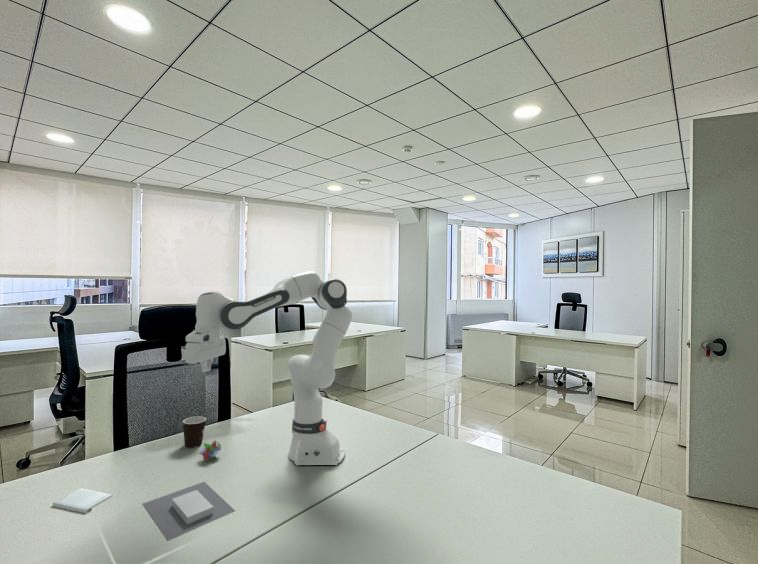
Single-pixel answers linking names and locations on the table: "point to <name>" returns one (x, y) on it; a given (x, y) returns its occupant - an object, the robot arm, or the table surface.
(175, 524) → the mat
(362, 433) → the table surface
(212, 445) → the geometric puzzle
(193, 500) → the tile
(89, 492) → the hard drive
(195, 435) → the coffee mug
